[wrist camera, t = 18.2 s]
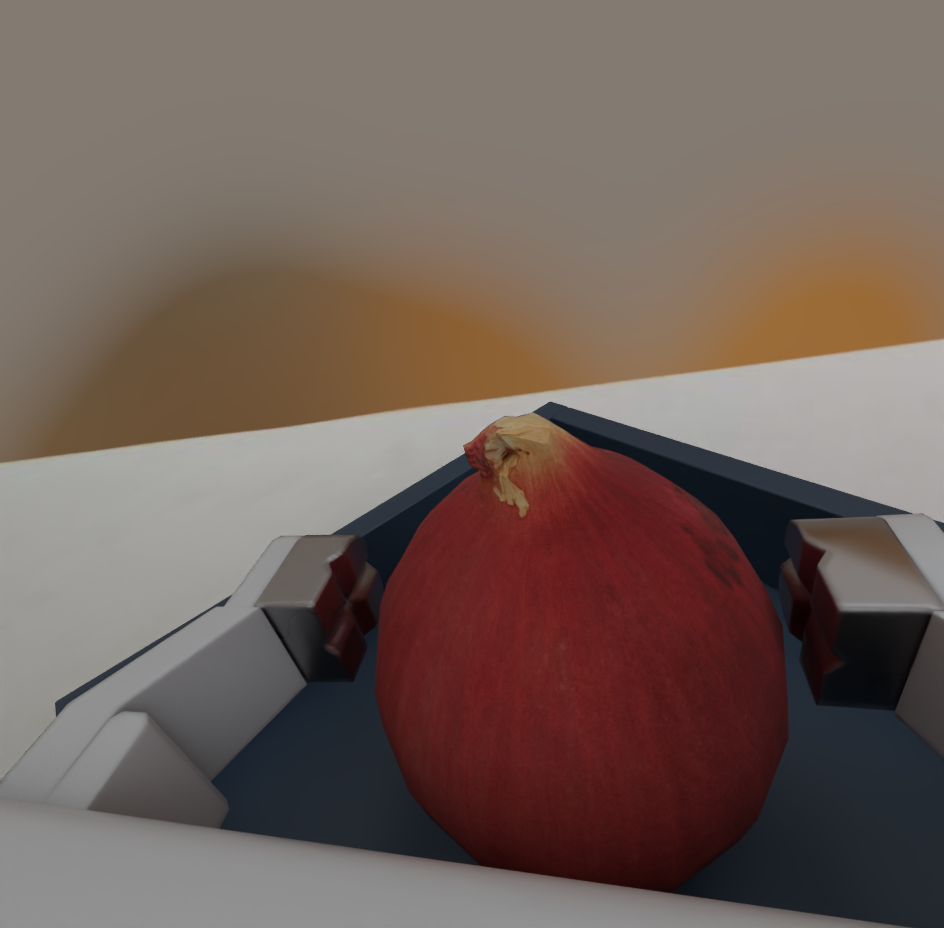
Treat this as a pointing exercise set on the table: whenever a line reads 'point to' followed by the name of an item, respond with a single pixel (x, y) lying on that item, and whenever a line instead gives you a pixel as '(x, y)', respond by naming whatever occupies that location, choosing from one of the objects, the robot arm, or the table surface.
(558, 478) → the onion
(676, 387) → the table surface
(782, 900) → the tray
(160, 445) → the table surface
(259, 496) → the table surface
